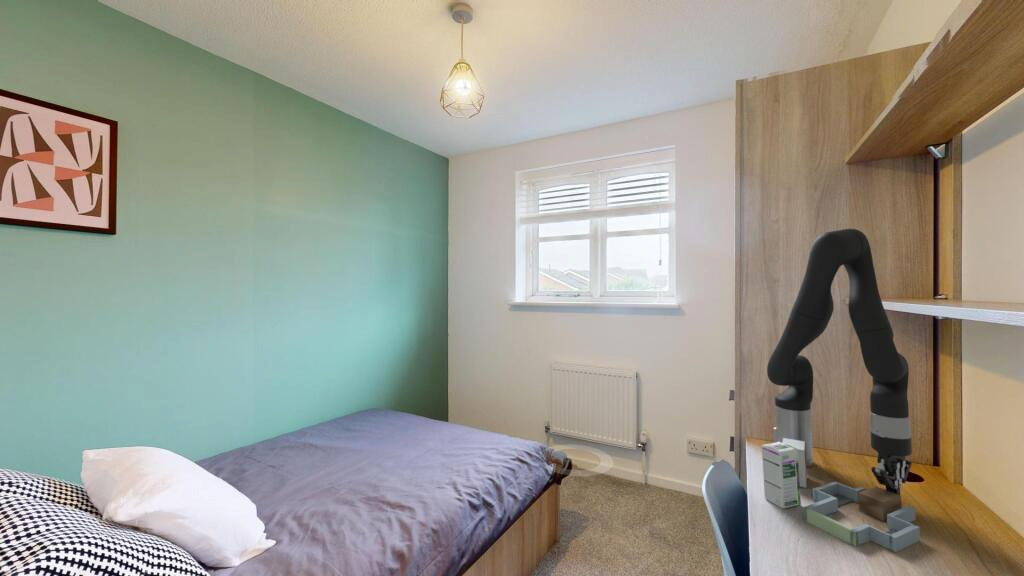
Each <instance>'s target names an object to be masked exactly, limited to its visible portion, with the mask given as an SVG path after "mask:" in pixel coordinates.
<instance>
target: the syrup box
mask: <svg viewBox="0 0 1024 576" xmlns="http://www.w3.org/2000/svg"><path fill="white" fill-rule="evenodd" d="M761 455H762V456H761V457H762V458H761V459H762V474H763V490H764V499H766V501H768V502H770V503H772V504H774V505H776V506H777V507H779V508H781V509H783V510H786V509H787V508H792V507H796V506H801V505H802V501H801V500H802V499H801V487H800V481H799V464H798V450H797V449H796V448H794V447H792V446H790V445H787V444H785V443H781V442H776V443H774V442H772V443H766V444H764V443H763V444H762V445H761Z"/></svg>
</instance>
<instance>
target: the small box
mask: <svg viewBox="0 0 1024 576" xmlns="http://www.w3.org/2000/svg"><path fill="white" fill-rule="evenodd" d="M782 443H785V444H787V445H790V446H792V447H794V448H796V449H797V450H798V464H799V481H800V488H804V489H806V488H808V487H807V482H808V481H807V479H808V473H807V467H806V444H805V441H799V440H793V439H786V438H783V441H782Z"/></svg>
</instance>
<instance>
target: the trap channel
mask: <svg viewBox="0 0 1024 576" xmlns="http://www.w3.org/2000/svg"><path fill="white" fill-rule="evenodd" d="M865 490H866V489H865V487H862V486H858V487H856V488H853V487H851V486H848V485H845V484H844V483H840V482H837V481H831V482H829V483H826V484H823V485H819V486H817V487H814V488H812V499H813V501H814V503H811V504H809V505H808V504H807V505H806V506H803V507H802V508H801V509H802V520H803V521H804V522H806V523H808V524H810V525H812V526H814V527H816V528H818V529H820V530H822V531H824V532H826V533H828V534H831V535H832V536H834V537H836V538H838V539H840V540H841V541H844V542H846V543H848V544H849V545H852V546H854V547H859V546H860V545H863V544H865V543H867V542H869V541H870V542H873V543H875V544H877V545H878V546H879V545H880V546H881V547H884V548H885V549H888V550H890V551H892V552H895V553H898V552H900V551H901V550H904V549H906V548H907V547H911V546H912V545H913V544H916V543H918V542H920V541H921V536H920V535H921V533H920V526H918V525H916V524H913V523H912V522H915V521H916V507H914V506H912V505H907V506H903V507H902V509H899V510H897V511H894V512H892V513H890V514H887V520H886V524H887V526H886V527H887V529H889V530H887V531H883V530H881V529H879V528H876V527H874V526H872V525H869V524H868V523H863V524H862V525H859V526H856V527H854V528H851V527H850V526H847V525H845V524H843V523H841V522H839V521H838V520H835V519H833V518H830V517H829V516H827V515H829V514H830V515H831V514H832V513H835V512H837V511H839V507H841V506H844V505H847V504H850V503H851V502H855V503H858V504H859V492H862V491H865Z"/></svg>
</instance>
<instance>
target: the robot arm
mask: <svg viewBox="0 0 1024 576" xmlns="http://www.w3.org/2000/svg"><path fill="white" fill-rule="evenodd" d="M867 237H868V236H866V234H865V233H864V232H862V231H861V230H858V229H857V228H845V229H838V230H833V231H832V230H831V231H827V232H824V233H821V234H820V235H819V236H818V237H816V238H815V240H814V241H813V243H812V246H811V249H810V252H809V256H808V260H807V265H806V269H805V273H804V276H803V279H802V283H801V285H800V288H799V291H798V294H797V297H796V298H795V301H794V303H793V306H792V308H791V311H790V314H789V317H788V320H787V322H786V325H785V327H784V330H783V332H782V334H781V337H780V339H779V341H778V343H777V344H776V346H775V349H774V350H773V352H772V354H771V356H770V358H769V361H768V363H767V366H766V367H767V368H766V371H767V372H766V373H767V377H768V379H769V381H770V383H772V384H774V385H776V386H782V387H785V386H787V388H786V389H785V390H784V391H782V392H781V393H778V394H777V395H775V397H774V404H775V406H774V407H775V427H773V428H772V431H773V443H776V442H781V443H782V441H783V438H786V439H793V440H799V441H805V444H806V468H810V467H812V466H814V456H813V452H814V451H813V431H812V430H813V429H812V410H811V407H812V405H811V404H812V402H813V399H814V398H813V397H814V369H813V366H812V364H811V362H810V360H809V359H808V358H807V357H806V356H804V355H800V353H801V352H802V351H803V350H804V349H805V348H806V347H808V346H809V345H811V344H812V343H813V342H814V341H815V340H817V339H818V338H819V337H820V336H821V335H822V334H823V333H824V332H825V330H826V329H827V327H828V324H829V322H830V321H831V318H832V316H833V313H834V310H835V309H834V305H835V304H834V299H833V295H832V284H833V282H834V279H835V277H836V275H837V273H838V270H839V269H840V267H842V266H844V269H845V271H846V273H847V275H848V279H849V296H848V297H849V298H848V314H849V318H850V321H851V324H852V326H853V329H854V332H855V334H856V336H857V338H858V341H859V346H860V351H861V356H862V359H863V363H864V364H863V365H864V366H865V369H866V370H867V372H868V373H869V375H870V376H871V377H872V389H871V390H870V391H871V392H870V396H869V405H870V416H869V428H870V429H869V430H870V433H869V435H870V447H871V449H873V450H874V451H876V452H877V459H876V461H877V466H872V467H871V472H872V474H873V475H874V477H875V479H876V480H877V482H878V484H879V485H881V486H885V490H887V491H890V492H892V493H895V494H898V495H900V496H901V488H902V485H903V484H906V482H907V479H908V476H909V473H910V471H911V467H912V460H909V459H906V457H909V456H911V455H912V454H913V449H912V448H913V445H912V424H911V421H910V415H909V414H910V412H909V410H910V409H909V399H908V388H909V371H910V370H909V363H908V361H907V359H906V357H904V356H903V355H902V354H901V353H899V352H898V349H897V347H896V345H895V341H894V331H893V328H892V325H891V322H890V320H889V317H888V315H887V313H886V310H885V308H884V305H883V302H882V299H881V296H880V291H879V288H878V287H879V286H878V281H877V276H876V273H875V272H876V271H875V266H874V261H873V256H872V251H871V245H870V243H869V239H868V238H867Z"/></svg>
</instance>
